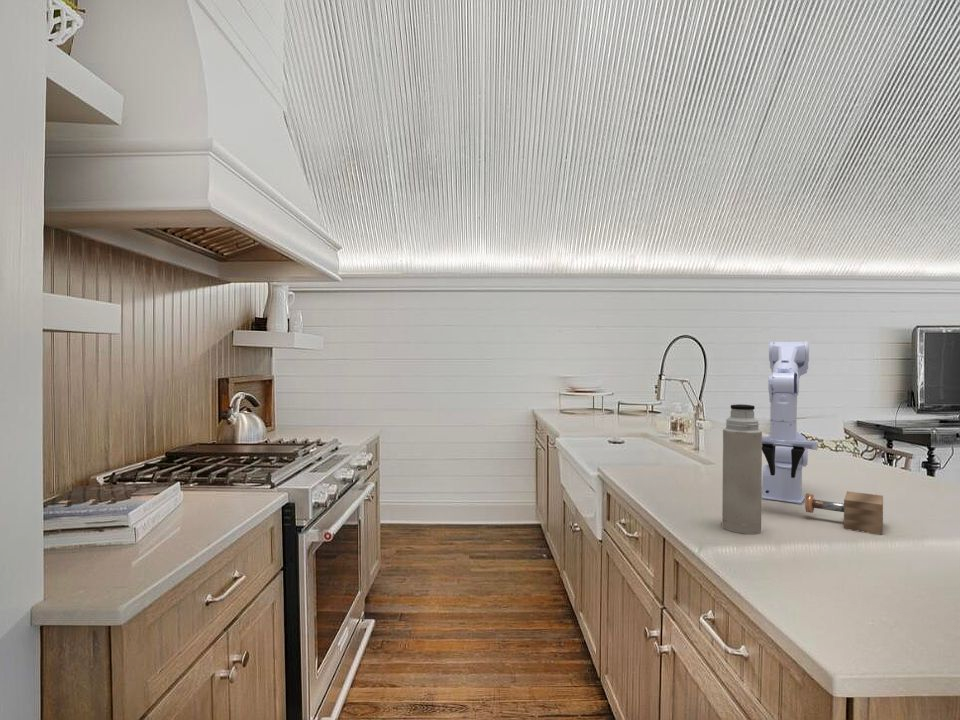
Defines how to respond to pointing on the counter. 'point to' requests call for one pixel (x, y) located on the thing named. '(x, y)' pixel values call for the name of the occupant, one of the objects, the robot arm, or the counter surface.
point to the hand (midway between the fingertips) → (782, 476)
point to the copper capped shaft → (821, 504)
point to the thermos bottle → (742, 471)
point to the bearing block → (863, 512)
